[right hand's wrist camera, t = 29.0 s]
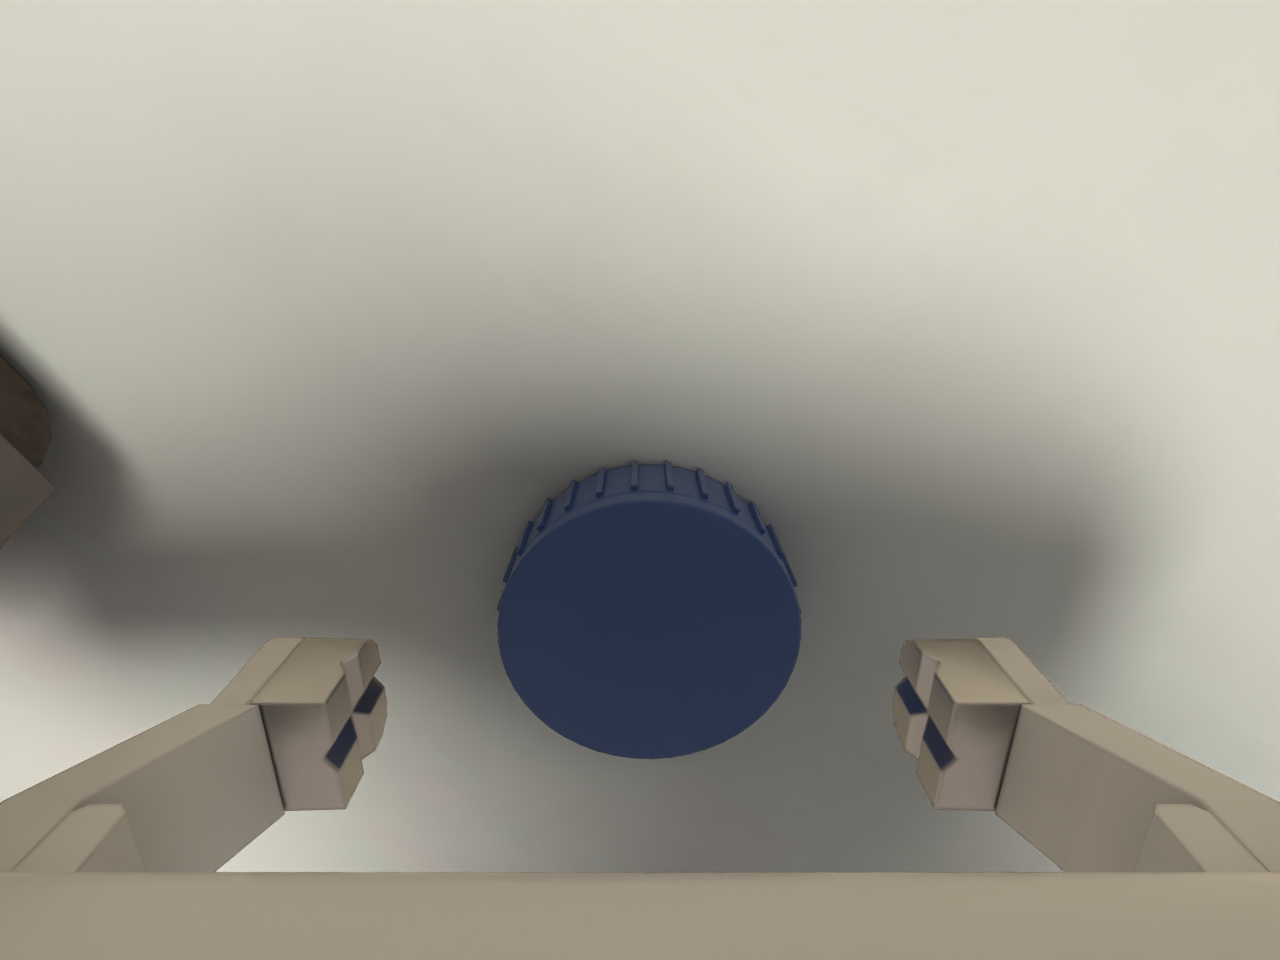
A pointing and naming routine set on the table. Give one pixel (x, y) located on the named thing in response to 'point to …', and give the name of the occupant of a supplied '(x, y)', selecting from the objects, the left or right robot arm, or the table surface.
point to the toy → (20, 452)
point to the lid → (649, 613)
